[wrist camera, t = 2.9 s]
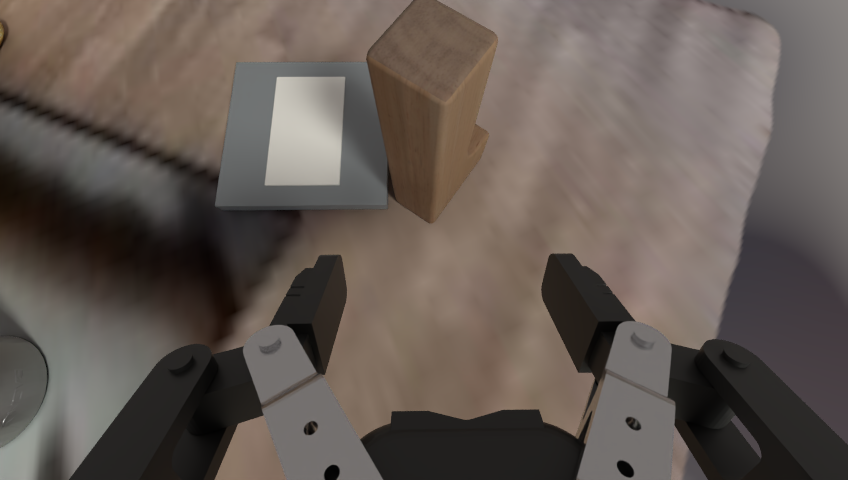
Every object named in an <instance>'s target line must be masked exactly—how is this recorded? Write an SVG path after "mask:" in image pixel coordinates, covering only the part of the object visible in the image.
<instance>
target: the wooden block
mask: <svg viewBox="0 0 848 480" xmlns="http://www.w3.org/2000/svg"><path fill="white" fill-rule="evenodd" d="M497 43H498V37H497V35H496V34H495V33H494V32H493V31H491V30H489V29H487V28H485V27H484V26H482V25H480V24H478V23H476V22H475V21H473V20H471V19H469V18H467V17H466V16H464V15H462V14H460V13H458V12H457V11H455V10H453V9H451V8H450V7H448V6H446V5H444V4H442V3H441V2H439V1H437V0H413V1H412V2H411V4H410V5H409V6H408V7H407V8H406V9H405V10H404V11H403V12H402V14H401V15H400V16H399V17H398V18H397V19H396V20H395V21H394V22H393V24H392V25H391V26H390V27H389V28H388V29H387V30H386V31H385V32H384V34H383V35H382V36H381V37H380V38H379V39H378V40H377V41H376V42H375V44H374V45H373V46H372V47H371V48H370V49H369V51H368V54H367V58H366V60H367V65H368V70H369V75H370V79H371V84H372V89H373V94H374V98H375V103H376V108H377V113H378V117H379V122H380V127H381V132H382V136H383V141H384V146H385V151H386V156H387V160H388V165H389V170H390V175H391V179H392V184H393V189H394V194H395V198H396V200H397V202H398V203H400V204H401V205H403V206H404V207H406V208H407V209H409V210H410V211H412V212H413V213H415V214H416V215H418V216H419V217H421V218H422V219H424V220H425V221H427V222H428V223H433V222H435V221H436V219H437V218H438V216H439V215H440V214H441V212H442V211H443V209H444V208H445V207H446V205H447V204H448V203H449V201H450V200H451V198H452V197H453V196H454V194H455V193H456V191H457V190H458V189H459V187H460V186H461V185H462V183H463V182H464V180H465V179H466V178H467V176H468V175H469V173H470V172H471V171H472V169H473V168H474V166H475V165H476V164H477V162H478V161H479V160H480V158H481V156H482V153H483V150H484V148H485V145H486V142H487V140H488V136H489V133H488V132H487V131H486V130H484V129H483V128H481V127H479V126H478V125H476V124H475V122H476V119H477V115H478V112H479V108H480V104H481V101H482V97H483V94H484V90H485V86H486V83H487V79H488V76H489V72H490V69H491V65H492V61H493V58H494V54H495V51H496V47H497Z"/></svg>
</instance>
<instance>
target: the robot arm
mask: <svg viewBox="0 0 848 480" xmlns="http://www.w3.org/2000/svg"><path fill="white" fill-rule="evenodd" d="M290 287H291V288H290V289H289V290H288V292H287V294H286V297H285V298H284V299H283V301H282V303H281V305H280V307H279V309H278V311H277V312H276V314H275V316H274V318H273V320H272V322H271V324H270V326H268V327H266V328H263V329H261V330H259V331H257V332H256V333H254V334H253V335H252V336H251V337H250V338H249V339H248V340H247V341H246V343H245V345H244V346H243V347H240V348H236V349H232V350H229V351H225V352H221V353H217V354H212V352H211V350H210V349H209V347H207V346H205V345H202V344H193V345H188V346H184V347H181V348H179V349H176V350H175V351H173V352H171V353H169V354H168V355H166V356H165V357H164V358H162V359H161V360H160V361H159V362H158V363H157V364H156V366H155V367H154V368H153V369H152V371H151V372H150V373H149V375H148V376H147V377H146V379H145V380H144V381H143V383H142V384H141V385H140V387H139V388H138V389H137V391H136V392H135V393H134V394H133V396H132V397H131V398H130V400H129V401H128V402H127V404H126V405H125V406H124V408H123V409H122V410H121V412H120V413H119V414H118V416H117V417H116V418H115V420H114V421H113V422H112V424H111V425H110V426H109V428H108V429H107V430H106V431H105V433H104V434H103V435H102V437H101V438H100V439H99V441H98V442H97V443H96V445H95V446H94V447H93V449H92V450H91V451H90V453H89V454H88V455H87V457H86V458H85V459H84V461H83V462H82V463H81V465H80V466H79V467H78V468H77V470H76V471H75V472H74V474H73V475H72V476H71V478H70V479H69V480H214V479H215V477H216V475H217V472H218V470H219V467H220V465H221V463H222V460H223V458H224V456H225V453H226V451H227V448H228V446H229V444H230V441H231V439H232V437H233V434H234V432H235V429H236V427H237V425H238V423H241V422H244V421H247V420H250V419H254V418H257V417H260V416H263V415H264V417H265V420H266V423H267V426H268V429H269V431H270V434H271V437H272V440H273V443H274V445H275V448H276V451H277V454H278V457H279V460H280V462H281V465H282V468H283V471H284V474H285V476H286V479H287V480H671V469H672V453H673V438H674V425H675V427H676V428H677V430H678V432H679V433H680V435H681V437H682V438H683V440H684V441H685V443H686V445H687V446H688V448H689V449H690V451H691V453H692V454H693V456H694V458H695V459H696V461H697V462H698V464H699V466H700V467H701V469H702V471H703V472H704V474H705V475H706V477H707V479H708V480H848V445H847V444H846V443H845V442H844V441H843V440H842V439H841V438H840V437H839V436H838V435H837V434H836V433H835V432H834V431H833V430H832V429H831V428H830V427H829V426H828V425H827V424H826V423H825V422H824V421H823V420H822V419H821V418H820V417H819V416H818V415H817V414H816V413H815V412H814V411H813V410H811V408H809V407H808V406H807V405H806V404H805V403H804V402H803V401H802V400H801V399H800V398H799V397H798V396H797V395H796V394H795V393H794V392H793V391H792V390H791V389H790V388H789V387H788V386H787V385H786V384H785V383H784V382H783V381H782V380H781V379H780V378H779V377H778V376H777V375H776V374H775V373H774V372H773V371H772V370H771V369H770V368H769V367H768V366H767V365H766V364H765V363H764V362H763V361H762V360H760V359H759V358H758V357H757V356H756V355H754V354H753V353H751V352H750V351H748V350H747V349H745V348H743V347H741V346H739V345H737V344H734V343H731V342H728V341H724V340H718V339H712V340H708V341H706V342H705V343H704V344H703V346H702V347H701V349H700V350H696V349H692V348H687V347H683V346H679V345H674V344H670V342H669V340H668V339H667V338H666V337H665V336H664V335H663V334H662V333H661V332H659V331H658V330H656V329H655V328H653V327H651V326H649V325H646V324H644V323H640V322H636V321H635V320H634V319H633V318H632V316H631V315H630V314H629V312H628V311H627V310H626V309H625V307H624V306H623V305H622V304H621V302H620V301H619V300H618V299H617V297H616V296H615V295H614V294H612V291H611V290H610V288H609V287H608V286H606V283H605V282H604V281H603V280H602V278H601V277H600V276H599V275H598V274H597V273H595V272H594V271H593V270H591V269H590V268H588V267H587V266H582V265H581V264H580V263H579V261H578V260H577V259H576V257H575V256H574V255H573V254H551V255H550V256H549V258H548V262H547V266H546V270H545V274H544V278H543V282H542V289H541V291H542V298H543V301H544V303H545V305H546V307H547V309H548V312H549V314H550V316H551V318H552V320H553V322H554V324H555V326H556V328H557V330H558V332H559V334H560V336H561V338H562V340H563V342H564V344H565V346H566V348H567V350H568V352H569V354H570V356H571V358H572V360H573V363H574V365H575V367H576V369H577V371H578V373H591V372H592V373H593V375H594V377H595V379H594V382H593V384H592V387H591V390H590V393H589V396H588V400H587V403H586V406H585V409H584V412H583V415H582V419H581V422H580V425H579V428H578V431H577V433H576V436H573V435H571V434H570V433H568V432H566V431H565V430H562V429H560V428H558V427H556V426H554V425H551V424H548V423H544V422H543V420H542V417H541V414H540V411H539V410H501V411H498V412H494V413H491V414H488V415H484V416H481V417H477V418H474V419H470V420H462V419H458V418H454V417H450V416H446V415H442V414H438V413H434V412H430V411H394V412H392V416H391V424H387V425H384V426H382V427H380V428H377V429H375V430H373V431H372V432H370V433H368V434H367V435H365V436H364V437H363V438H361V439H359V437H358V435H357V434H356V432H355V430H354V428H353V427H352V425H351V423H350V422H349V420H348V418H347V416H346V415H345V413H344V411H343V409H342V408H341V406H340V404H339V403H338V401H337V399H336V397H335V396H334V394H333V392H332V390H331V389H330V387H329V385H328V384H327V382H326V380H325V378H324V377H323V375H325V373H326V369H327V366H328V362H329V359H330V355H331V352H332V348H333V345H334V341H335V338H336V334H337V331H338V327H339V324H340V321H341V317H342V314H343V310H344V307H345V303H346V297H347V287H346V280H345V274H344V268H343V262H342V257H341V255H320V256H319V257H318V260H317V262H316V264H315V266H314V268H305V269H304V270H303V271H302V272H301V273H300V274H298V275H297V276H296V277H295V279H294V281H293V283H292V285H291V286H290ZM46 385H47V368H46V365H45V362H44V358H43V357H42V355H41V353H40V352H39V350H38V349H37V348H36V347H35V346H34V345H33V344H31V343H30V342H28V341H26V340H24V339H22V338H18V337H13V336H0V448H1V447H3V446H4V445H6V444H7V443H9V442H10V441H12V440H13V439H15V438H16V437H17V436H18V435H19V434H20V433H21V432H22V431H23V430H24V429H25V428H26V427H27V426H28V425H29V423H30V422H31V421H32V419H33V418H34V417H35V415H36V413H37V411H38V409H39V408H40V406H41V403H42V401H43V398H44V395H45V391H46ZM735 415H736V416H737V417H738V418H739V419H740V421H741V422H742V423H743V425H744V426H745V427H746V428H747V429H748V431H749V432H750V433H751V435H752V436H753V437H754V438H755V440H756V441H757V443H758V444H759V447H760V450H761V454H762V458H761V459H760V457H759V456H758V455H757V453H756V452H755V451H754V450H753V448H752V447H751V446H750V444H749V443H748V442H747V441H746V439H745V438H744V437H743V435H742V434H741V433H740V432H739V430H738V429H737V428H736V426H735V425H734V424H733V423H732V421H731V419H732V418H733V417H734V416H735Z"/></svg>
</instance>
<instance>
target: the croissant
mask: <svg viewBox="0 0 848 480" xmlns="http://www.w3.org/2000/svg"><path fill="white" fill-rule="evenodd" d="M3 35H4V28H3V25H2V23H1V22H0V45H1V42H2V40H3Z"/></svg>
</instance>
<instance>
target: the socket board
mask: <svg viewBox="0 0 848 480" xmlns="http://www.w3.org/2000/svg"><path fill="white" fill-rule="evenodd" d="M388 171H389V165H388V160H387V156H386V151H385V146H384V141H383V136H382V132H381V127H380V122H379V117H378V113H377V108H376V103H375V98H374V94H373V89H372V84H371V79H370V75H369V70H368V65H367V62H237V63H236V70H235V76H234V83H233V89H232V96H231V102H230V109H229V116H228V122H227V129H226V135H225V142H224V148H223V155H222V162H221V168H220V175H219V181H218V188H217V194H216V201H215V207H217V208H219V209H221V210H334V209H388Z"/></svg>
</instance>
